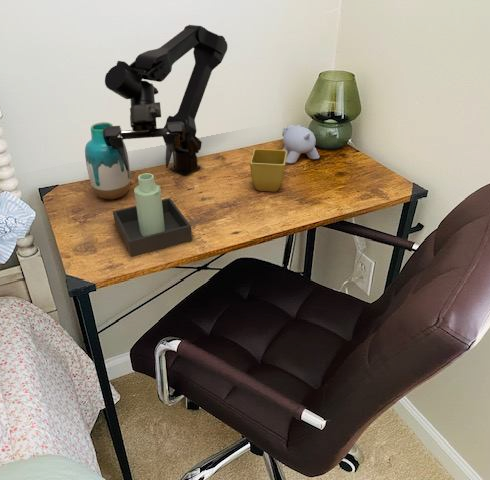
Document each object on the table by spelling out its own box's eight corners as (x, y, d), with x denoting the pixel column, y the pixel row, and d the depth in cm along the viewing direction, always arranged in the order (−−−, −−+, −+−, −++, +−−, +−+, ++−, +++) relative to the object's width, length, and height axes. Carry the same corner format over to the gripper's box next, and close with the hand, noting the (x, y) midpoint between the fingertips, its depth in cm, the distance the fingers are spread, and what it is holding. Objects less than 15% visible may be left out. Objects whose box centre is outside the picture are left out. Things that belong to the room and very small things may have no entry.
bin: (115, 225, 117) (112, 211, 115) (171, 211, 121) (169, 197, 119) (131, 257, 106) (128, 241, 104) (192, 240, 110) (191, 225, 108)
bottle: (135, 231, 113) (127, 177, 105) (153, 221, 117) (146, 168, 109) (151, 240, 110) (144, 185, 102) (169, 230, 113) (164, 175, 105)
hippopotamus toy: (302, 142, 153) (304, 112, 148) (325, 161, 141) (328, 130, 136) (270, 147, 151) (271, 117, 146) (290, 167, 139) (292, 135, 134)
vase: (141, 193, 129) (132, 124, 119) (109, 209, 123) (96, 138, 112) (116, 182, 136) (105, 115, 125) (84, 196, 129) (70, 127, 118)
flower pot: (283, 196, 125) (284, 164, 120) (249, 194, 127) (249, 162, 122) (285, 180, 132) (287, 150, 127) (253, 179, 134) (253, 148, 129)
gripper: (96, 92, 108) (100, 159, 105) (181, 86, 109) (187, 153, 106) (105, 114, 119) (108, 175, 116) (182, 109, 120) (187, 170, 117)
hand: (147, 168), depth 113 cm, fingers open, 9 cm apart
